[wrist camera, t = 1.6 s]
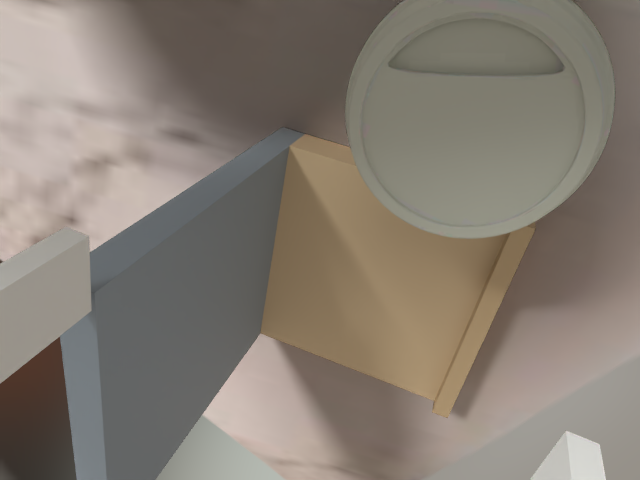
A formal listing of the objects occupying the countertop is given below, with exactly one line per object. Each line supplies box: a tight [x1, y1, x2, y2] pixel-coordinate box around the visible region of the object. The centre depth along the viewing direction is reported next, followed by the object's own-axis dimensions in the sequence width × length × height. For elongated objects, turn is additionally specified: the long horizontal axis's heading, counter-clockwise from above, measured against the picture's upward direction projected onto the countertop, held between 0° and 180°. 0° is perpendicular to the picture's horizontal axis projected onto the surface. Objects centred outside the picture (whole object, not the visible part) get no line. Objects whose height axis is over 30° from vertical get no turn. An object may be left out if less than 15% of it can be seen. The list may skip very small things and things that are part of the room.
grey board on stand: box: [60, 127, 536, 480], centre depth 25 cm, size 14×15×18 cm
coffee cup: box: [345, 0, 615, 239], centre depth 20 cm, size 9×9×12 cm
